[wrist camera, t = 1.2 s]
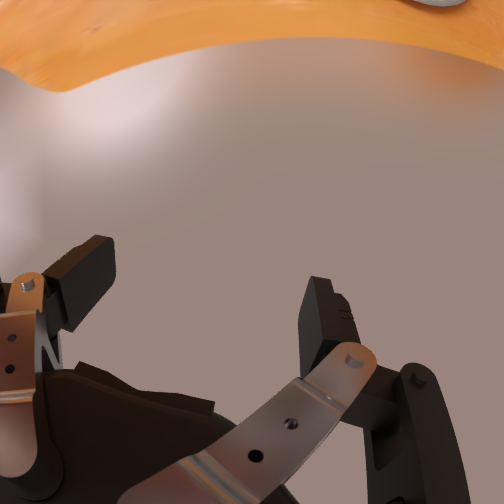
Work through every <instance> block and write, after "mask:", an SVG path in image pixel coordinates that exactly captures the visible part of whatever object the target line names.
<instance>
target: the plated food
mask: <svg viewBox="0 0 504 504" xmlns="http://www.w3.org/2000/svg"><path fill="white" fill-rule="evenodd" d="M413 1H416V2H420V3H423V4H427V5H432V6H441V7H445V6H453V5H458V4H460V3H462V2H464V1H466V0H413Z"/></svg>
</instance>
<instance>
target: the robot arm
mask: <svg viewBox="0 0 504 504" xmlns="http://www.w3.org/2000/svg"><path fill="white" fill-rule="evenodd" d="M115 277H116V265H115V249H114V241H113V239H112V238H110V237H105V236H100V235H94V236H93V237H91V238H90V239H89V240H87V241H86V242H85V243H84V244H82V245H79V246H77V247H74V248H73V249H71V250H70V251H69V252H68V253H66V255H64V256H63V257H61V258H60V260H57V261H56V262H55V263H54V264H52V265H51V266H50V267H49V268H48V269H46V270H45V271H44V272H43V273H42V274H39V273H35V272H31V273H30V272H29V273H25V274H22V275H20V276H18V277H17V278H16V279H15V280H14V281H13V282H12V283H2V282H1V278H0V504H299V502H298V501H297V500H296V499H295V498H294V496H293V495H292V494H291V493H290V491H288V489H287V488H286V486H285V485H284V484H285V483H286V482H287V481H288V480H289V479H290V478H291V477H292V476H293V475H294V474H295V473H296V472H297V471H298V469H300V467H301V466H302V465H303V464H304V463H305V462H306V461H307V460H308V459H309V457H310V456H311V455H312V454H313V453H314V452H315V450H316V449H317V448H318V447H319V446H320V445H321V444H322V442H323V441H324V440H325V439H326V438H327V437H328V435H329V434H330V433H331V432H332V431H333V429H334V428H335V427H336V426H337V424H338V423H339V422H340V421H342V422H345V423H348V424H351V425H354V426H358V427H361V428H363V433H364V444H365V456H366V471H367V489H368V504H471V502H470V496H469V490H468V485H467V480H466V476H465V471H464V467H463V462H462V458H461V454H460V451H459V447H458V443H457V439H456V436H455V432H454V429H453V426H452V422H451V419H450V416H449V413H448V410H447V407H446V404H445V401H444V398H443V395H442V392H441V389H440V387H439V384H438V381H437V379H436V376H435V375H434V373H432V371H431V370H429V369H428V368H427V367H425V366H424V365H421V364H418V363H408V364H406V365H404V366H403V367H402V369H401V371H400V372H397V371H394V370H391V369H388V368H385V367H382V366H379V365H378V364H377V360H376V357H375V355H374V354H373V353H372V351H371V350H369V349H368V348H367V347H365V346H363V345H361V342H360V338H359V335H358V332H357V328H356V325H355V322H354V321H353V319H354V318H353V315H352V313H351V309H350V306H349V303H348V301H347V300H346V299H345V298H344V297H343V296H342V294H338V293H334V290H333V286H332V283H331V280H330V279H326V278H320V277H314V276H311V277H310V279H309V282H308V285H307V289H306V292H305V295H304V298H303V302H302V305H301V308H300V312H299V318H298V333H299V353H300V376H301V378H300V377H297V378H295V379H294V380H292V381H291V382H290V383H289V384H288V385H286V386H285V387H284V388H283V389H282V390H281V391H280V392H278V393H277V394H276V395H275V396H274V397H273V398H271V399H270V400H269V401H268V402H266V403H265V404H264V405H263V406H262V407H260V408H259V409H258V410H257V411H255V412H254V413H253V414H252V415H250V416H249V417H248V418H246V419H245V420H244V421H243V422H242V423H240V424H239V425H235V424H234V423H233V422H231V421H230V420H228V419H227V418H225V417H223V416H221V415H219V414H217V413H215V412H214V405H215V402H214V401H210V400H205V399H200V398H196V397H191V396H187V395H183V394H179V393H165V392H150V391H140V390H137V389H135V388H133V387H131V386H130V385H128V384H126V383H125V382H123V381H122V380H120V379H118V378H117V377H115V376H114V375H112V374H111V373H109V372H107V371H104V370H101V369H99V368H96V367H94V366H91V365H89V364H86V363H83V362H81V361H79V363H78V364H77V366H76V367H75V369H74V370H73V369H63V363H62V352H61V340H60V335H59V331H60V329H61V328H62V329H64V330H67V331H69V332H73V331H74V330H75V329H76V328H77V326H78V325H79V324H80V322H81V321H82V320H83V319H84V318H85V316H86V315H87V314H88V313H89V312H90V311H91V309H92V308H93V307H94V306H95V304H96V303H97V302H98V301H99V300H100V299H101V298H102V296H103V295H104V294H105V293H106V292H107V290H108V289H109V288H110V287H111V286H112V285H113V283H114V280H115Z"/></svg>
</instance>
